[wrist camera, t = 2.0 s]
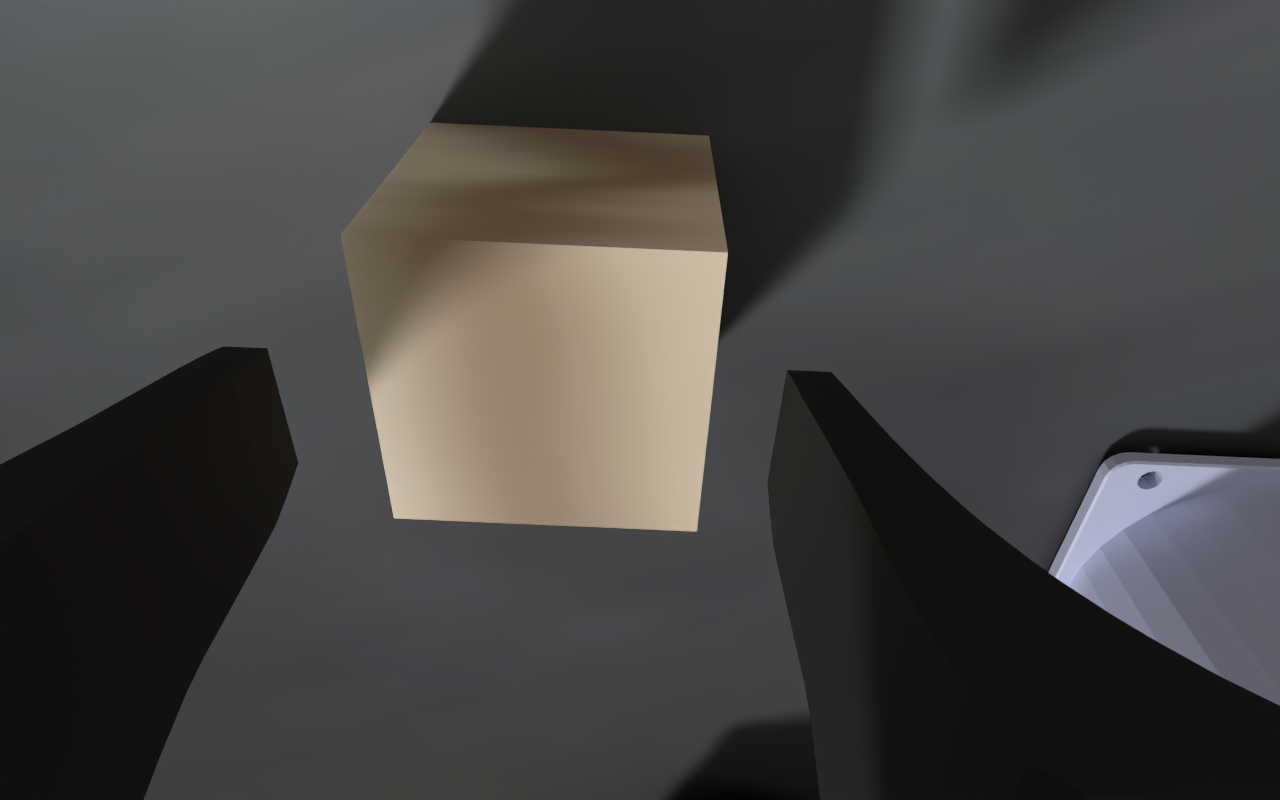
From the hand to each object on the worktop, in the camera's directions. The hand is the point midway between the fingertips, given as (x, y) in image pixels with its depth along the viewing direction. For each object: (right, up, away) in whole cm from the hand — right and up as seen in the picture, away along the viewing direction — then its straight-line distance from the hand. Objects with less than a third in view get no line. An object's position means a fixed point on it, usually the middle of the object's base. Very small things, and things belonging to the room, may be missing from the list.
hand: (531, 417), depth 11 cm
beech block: (0, +3, +4) cm, 6 cm away
